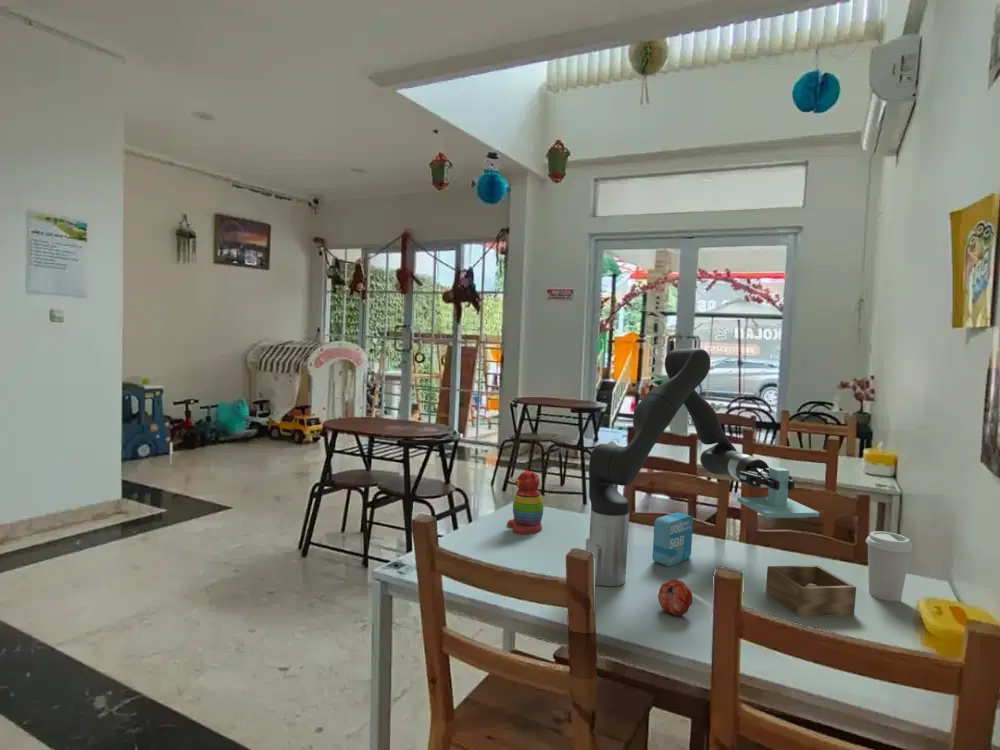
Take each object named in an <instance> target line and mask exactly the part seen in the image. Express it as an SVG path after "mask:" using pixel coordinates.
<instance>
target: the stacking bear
mask: <svg viewBox="0 0 1000 750" xmlns="http://www.w3.org/2000/svg"><path fill="white" fill-rule="evenodd" d="M515 485H516V487H517V488H518V490H516V493H515V495H514V499H513V503H512V513H513V518H511V519H509V520H508V521H507V523H506V525H507V527H509V528H512V533H513V534H515V535H521V536H522V535H531V534H536V533H539V532H541V531H542V530H543V525H542V518H543V516H544V509H545V508H544V501H543V496H542V494H541V492H540V490H539V489H538V488H539V487H540V477H539V474H538V473H536V472H534V471H530V470H528V469H525V471H523V472H522V473H520V475H518V477H516V479H515Z"/></svg>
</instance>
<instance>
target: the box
mask: <svg viewBox="0 0 1000 750" xmlns="http://www.w3.org/2000/svg"><path fill="white" fill-rule="evenodd" d="M766 569H767V570H766V585H765V593H766V594H768V595H769V596H770V597H771V598H774V599H775V600H776V601H777V602H779V603H780V604H781V605H782V606H785V607H786V608H787V609H788V610H790V611H791V612H792V613H794V614H795V615H796V616H798V617H800V618H805V617H809V618H810V617H831V616H832V617H833V616H855V607H856V597H857V596H856V595H857V586H855V585H854V584H851V583H849V582H848V581H846V580H844V579H843V578H841V577H839V576H838V575H836V574H834V573H832V572H831V571H829V570H827V569H825V568H823V567H822V566H820V565H817V564H815V565H814V564H812V565H806V564H805V565H770V566H769V565H768V566H767V568H766ZM807 584H815V585H817V586H815V587H805V586H806V585H807Z"/></svg>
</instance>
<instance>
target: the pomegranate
mask: <svg viewBox="0 0 1000 750" xmlns="http://www.w3.org/2000/svg"><path fill="white" fill-rule="evenodd" d="M658 591H659V592H658V594H657V598H658V603H659V605H660V607H661V609H662V610H663V611H665V612H667V613H670V614H672V615H674V616H679V617H680V616H682V615H684V614H686V613H688V611H689V609H690V607H691V605H693V601H694V600H693V599H694V597H693V593H692V591H691V589H690V588H689V587H688V586H687V585H686V584H685V582H684V581H683V580H680V579H679V578H678V579H670V580H669V581H667V582H664V583H662V584H661V586H660V588H659V590H658Z"/></svg>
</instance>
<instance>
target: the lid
mask: <svg viewBox="0 0 1000 750" xmlns="http://www.w3.org/2000/svg"><path fill="white" fill-rule="evenodd" d="M769 468H770V474H769V478H772V479H775V480H777V481H779V482H780V486H779V490H774V489H772V488H770V487H767V489H768V491H767V497H765V496H764V497H763V496H762V497H761V496H760V497H758V496H757V497H755V496H754V497H752V496H751V497H749V496H748V497H747V496H744V497H740V496H739V497H736V498H737V500H736V502H737V503H740V504H742V505H743V506H745V507H747V508H749V509H751V510H752V511H753V512H756V513H758V514H760V516H761V515H762V516H764V517H765V518H768V519H807V518H813V517H814V518H819V517H820V512H819V511H817V510H814V509H813V508H811V507H808V506H806V505H803V504H802V503H799V502H798V501H796V500H793V499H791V498H789V497H788V495H789V489H788V480H789V474H790V470H789V469H787V468H783V467H769Z"/></svg>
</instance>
